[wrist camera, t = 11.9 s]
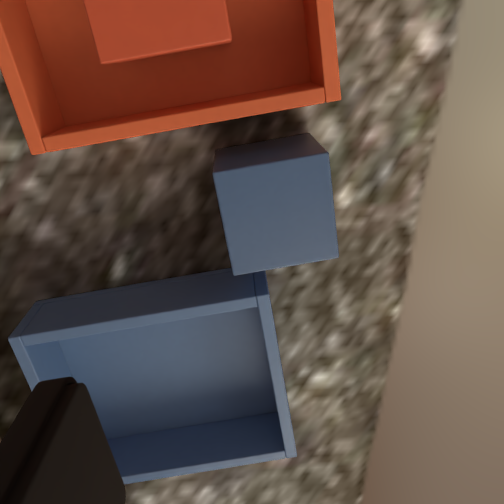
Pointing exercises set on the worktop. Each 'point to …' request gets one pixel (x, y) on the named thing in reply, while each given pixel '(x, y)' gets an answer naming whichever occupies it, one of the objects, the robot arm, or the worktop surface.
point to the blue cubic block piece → (276, 203)
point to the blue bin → (170, 370)
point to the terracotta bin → (161, 72)
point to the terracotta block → (155, 27)
